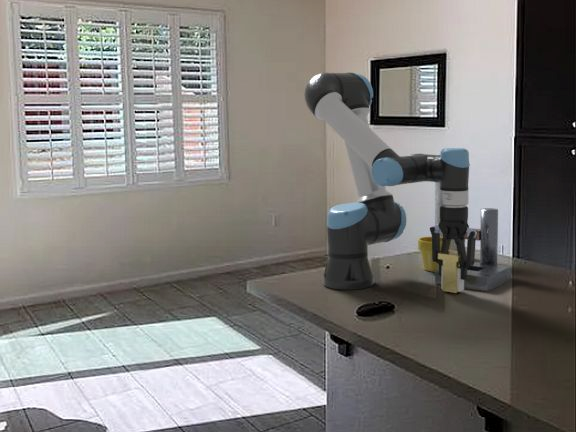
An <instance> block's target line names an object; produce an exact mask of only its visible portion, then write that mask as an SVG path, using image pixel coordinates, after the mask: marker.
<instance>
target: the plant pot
mask: <svg viewBox="0 0 576 432" xmlns="http://www.w3.org/2000/svg"><path fill="white" fill-rule="evenodd" d="M442 238H443V237H440V251H441V246H442ZM417 249H418V251H419V252H420V257H421V263H422V267H423V270H424V271H428V272H435V270H437V269H439V264H438V263H436V262H433V261H432V236H421V237H419V238H417ZM449 250H451V242H450V246H449Z"/></svg>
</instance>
